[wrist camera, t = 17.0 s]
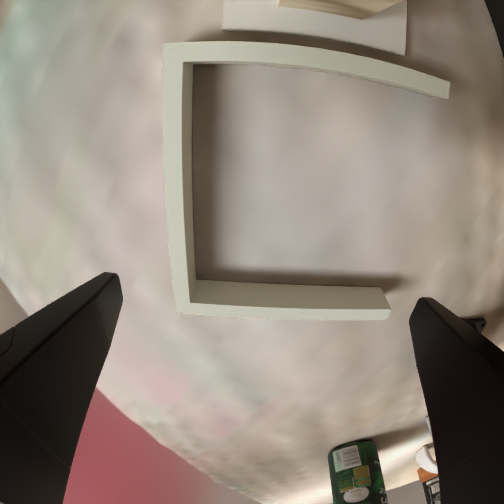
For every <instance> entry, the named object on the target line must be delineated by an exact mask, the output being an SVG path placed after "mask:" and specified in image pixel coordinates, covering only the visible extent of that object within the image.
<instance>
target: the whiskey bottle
mask: <svg viewBox="0 0 504 504" xmlns="http://www.w3.org/2000/svg"><path fill="white" fill-rule="evenodd" d="M435 462H436V461H435ZM417 472H418V475H419V479H420V482H421V483H422V484H423V487H424V492H425V496H426V501H427V504H441V498H440V488H439V478H438V474H436V473H431V472H428V471H426V470H424V469H423V468H421V469H419V470H418V471H417Z"/></svg>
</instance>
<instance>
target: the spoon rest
mask: <svg viewBox="0 0 504 504" xmlns="http://www.w3.org/2000/svg"><path fill="white" fill-rule="evenodd" d="M414 456H415V459H416V461H417V463H418V464H419V465H420V466H421V467H422V468H423V469H424V470H426V471H428V472H431V473H436V474H438V470H437V463H436V462H435V461H434V460H433V459H432V457H431V455H430V453H429V451H428V448H427V446H423V447H422V448H421V449H420V450H418V451H417V452H416V453H415V455H414Z"/></svg>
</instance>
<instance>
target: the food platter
mask: <svg viewBox="0 0 504 504" xmlns="http://www.w3.org/2000/svg"><path fill="white" fill-rule="evenodd" d="M484 1H485V3H486V6H487V8H488V11H489V14H490V16H491V19H492V22H493V25H494V27H495V30H496V33H497V37H498V40H499V43H500V46H501V50H502V53H503V57H504V0H484Z"/></svg>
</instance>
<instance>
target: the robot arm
mask: <svg viewBox="0 0 504 504" xmlns="http://www.w3.org/2000/svg"><path fill="white" fill-rule="evenodd" d="M122 302H123V295H122V290H121V285H120V280H119V276H118V275H117V274H116V273H110V272H104V273H102V274H100V275H98V276H96V277H95V278H93V279H91V280H90V281H88V282H86V283H84V284H83V285H81V286H79V287H77V288H76V289H74V290H72V291H71V292H69V293H67V294H66V295H64V296H62V297H60V298H59V299H57V300H55V301H54V302H52V303H50V304H49V305H47V306H46V307H44V308H42V309H41V310H39V311H37V312H36V313H34V314H33V315H31V316H29V317H28V318H26V319H25V320H23V321H21V322H20V323H18V324H17V325H15V327H12V328H10V329H9V330H7V331H6V332H4V333H3V334H1V335H0V504H63V499H64V495H65V490H66V486H67V482H68V478H69V473H70V470H71V469H70V468H71V465H72V462H73V458H74V454H75V451H76V447H77V444H78V440H79V437H80V433H81V430H82V427H83V423H84V420H85V417H86V414H87V411H88V408H89V405H90V402H91V399H92V396H93V393H94V390H95V387H96V384H97V381H98V379H99V376H100V373H101V370H102V368H103V365H104V362H105V360H106V357H107V354H108V351H109V349H110V346H111V342H112V339H113V335H114V331H115V328H116V324H117V320H118V317H119V313H120V310H121V306H122ZM486 324H487V322H486V320H485V319H475V320H464V321H463V320H462V319H461V318H459V317H458V316H457V315H455V314H454V313H452V312H451V311H450V310H448V309H447V308H446V307H444V306H443V305H441V304H440V303H439V302H437V301H436V300H434V299H433V298H431V297H421V298H420V299H419V300H418V301H417V303H416V306H415V308H414V310H413V312H412V314H411V316H410V319H409V326H410V331H411V336H412V342H413V347H414V353H415V359H416V366H417V369H418V373H419V377H420V381H421V385H422V389H423V394H424V398H425V403H426V407H427V412H428V417H429V422H430V427H431V432H432V438H433V444H434V450H435V456H436V463H437V470H438V478H439V488H440V498H441V504H504V352H503V351H502V350H501V349H500V348H498V347H497V346H496V345H495V344H493V343H492V342H491V341H490V340H488V339H487V338H486V337H484V336H483V335H482V334H481V332H482V331H483V329H484V327H485V326H486Z"/></svg>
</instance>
